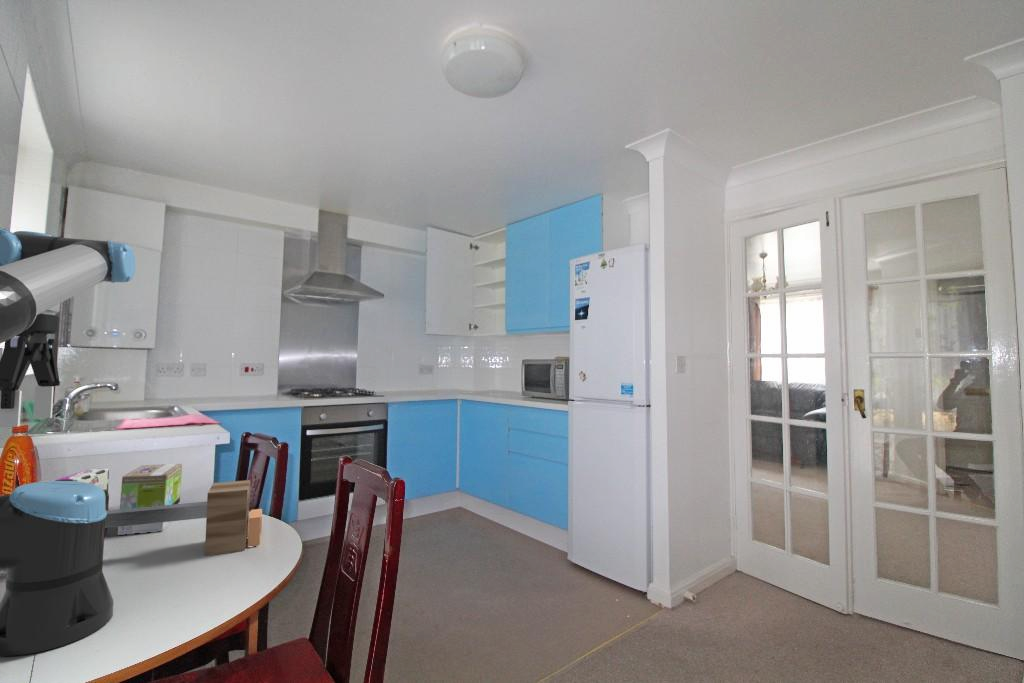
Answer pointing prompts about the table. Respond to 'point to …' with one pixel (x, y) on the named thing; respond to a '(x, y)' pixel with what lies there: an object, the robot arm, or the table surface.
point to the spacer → (255, 527)
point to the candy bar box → (91, 479)
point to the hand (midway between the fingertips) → (26, 422)
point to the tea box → (150, 492)
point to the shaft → (154, 514)
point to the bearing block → (227, 517)
